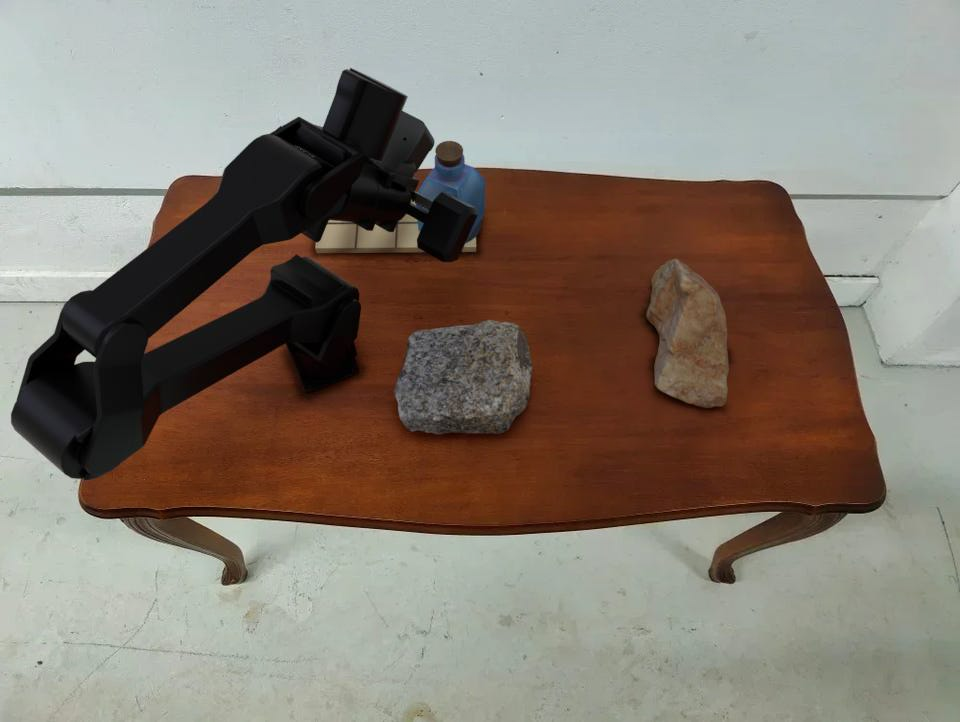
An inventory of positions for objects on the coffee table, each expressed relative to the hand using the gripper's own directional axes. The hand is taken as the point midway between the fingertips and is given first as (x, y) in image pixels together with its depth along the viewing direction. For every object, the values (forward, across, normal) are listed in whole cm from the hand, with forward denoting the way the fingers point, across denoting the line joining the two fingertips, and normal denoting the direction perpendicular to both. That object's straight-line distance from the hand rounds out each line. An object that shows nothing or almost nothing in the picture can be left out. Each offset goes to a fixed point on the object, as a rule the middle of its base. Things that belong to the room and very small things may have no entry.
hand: (427, 203), depth 82 cm
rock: (-4, -15, +16) cm, 22 cm away
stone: (+10, -32, +2) cm, 34 cm away
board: (+6, +6, +6) cm, 10 cm away
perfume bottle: (+8, 0, +2) cm, 9 cm away
